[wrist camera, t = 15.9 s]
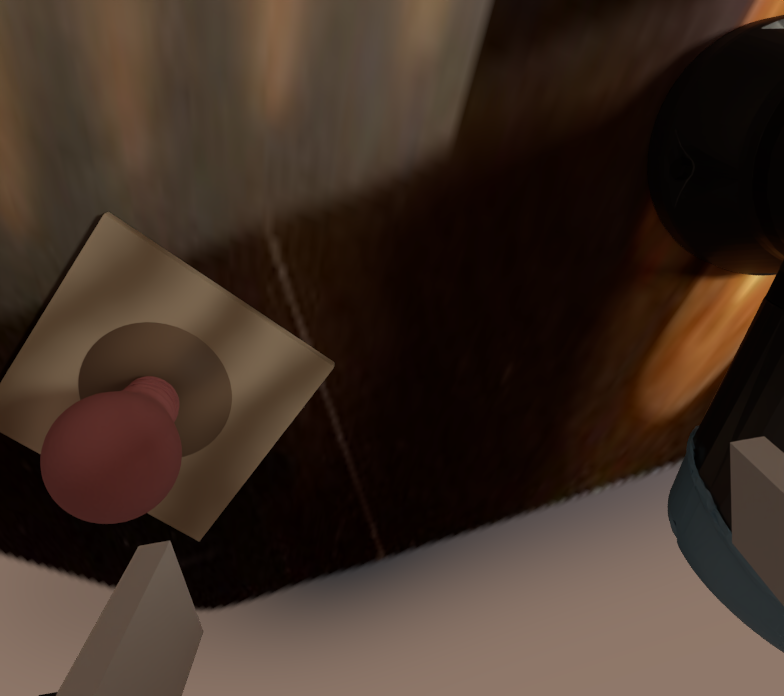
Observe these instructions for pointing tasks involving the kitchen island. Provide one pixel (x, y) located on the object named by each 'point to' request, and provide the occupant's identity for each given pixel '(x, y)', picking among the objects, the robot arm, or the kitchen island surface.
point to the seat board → (164, 365)
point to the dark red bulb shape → (114, 452)
